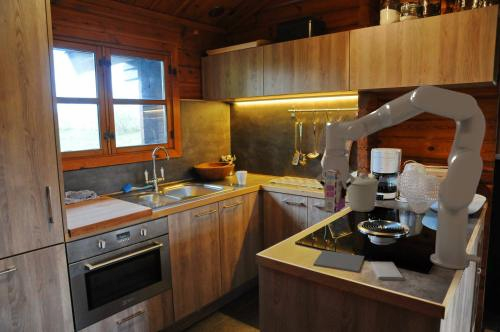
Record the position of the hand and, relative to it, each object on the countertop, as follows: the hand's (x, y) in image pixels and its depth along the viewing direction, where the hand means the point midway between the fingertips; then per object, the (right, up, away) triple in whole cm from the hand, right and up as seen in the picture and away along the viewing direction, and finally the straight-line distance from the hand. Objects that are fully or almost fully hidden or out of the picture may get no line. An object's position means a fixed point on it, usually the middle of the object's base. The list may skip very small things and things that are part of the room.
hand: (335, 197), depth 147 cm
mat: (-1, -23, -10) cm, 25 cm away
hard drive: (+13, -25, -20) cm, 34 cm away
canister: (+28, -12, +59) cm, 66 cm away
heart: (+55, -13, +49) cm, 75 cm away
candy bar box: (0, -5, +1) cm, 5 cm away
